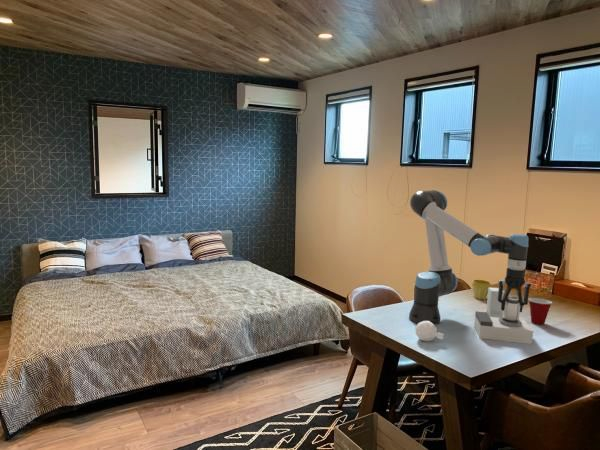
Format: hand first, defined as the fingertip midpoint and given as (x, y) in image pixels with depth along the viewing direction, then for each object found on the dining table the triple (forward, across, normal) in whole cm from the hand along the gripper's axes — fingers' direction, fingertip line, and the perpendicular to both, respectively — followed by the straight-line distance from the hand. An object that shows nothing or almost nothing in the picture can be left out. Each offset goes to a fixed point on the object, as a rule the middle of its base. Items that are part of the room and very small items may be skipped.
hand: (510, 317), depth 206 cm
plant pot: (+9, -2, +61) cm, 62 cm away
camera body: (+9, -3, 0) cm, 9 cm away
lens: (0, 0, 0) cm, 0 cm away
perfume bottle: (+9, -37, -18) cm, 42 cm away
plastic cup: (+9, +19, +24) cm, 32 cm away
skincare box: (+9, -2, +23) cm, 25 cm away
